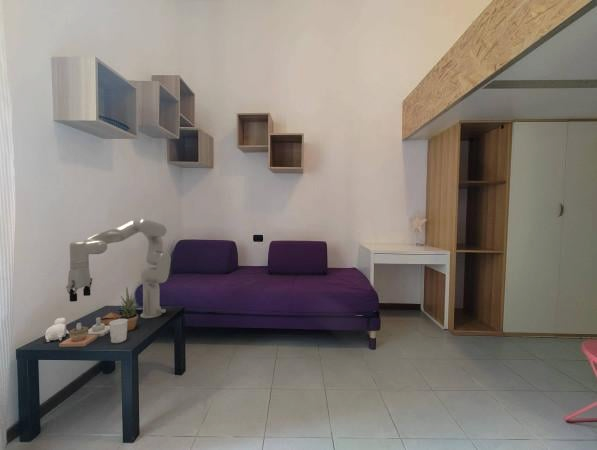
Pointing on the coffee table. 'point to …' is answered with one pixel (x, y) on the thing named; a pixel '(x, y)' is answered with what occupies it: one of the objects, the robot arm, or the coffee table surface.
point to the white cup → (118, 330)
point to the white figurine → (57, 330)
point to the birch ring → (78, 332)
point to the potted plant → (129, 311)
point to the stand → (99, 328)
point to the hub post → (78, 339)
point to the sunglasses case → (109, 318)
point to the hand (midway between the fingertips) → (80, 298)
